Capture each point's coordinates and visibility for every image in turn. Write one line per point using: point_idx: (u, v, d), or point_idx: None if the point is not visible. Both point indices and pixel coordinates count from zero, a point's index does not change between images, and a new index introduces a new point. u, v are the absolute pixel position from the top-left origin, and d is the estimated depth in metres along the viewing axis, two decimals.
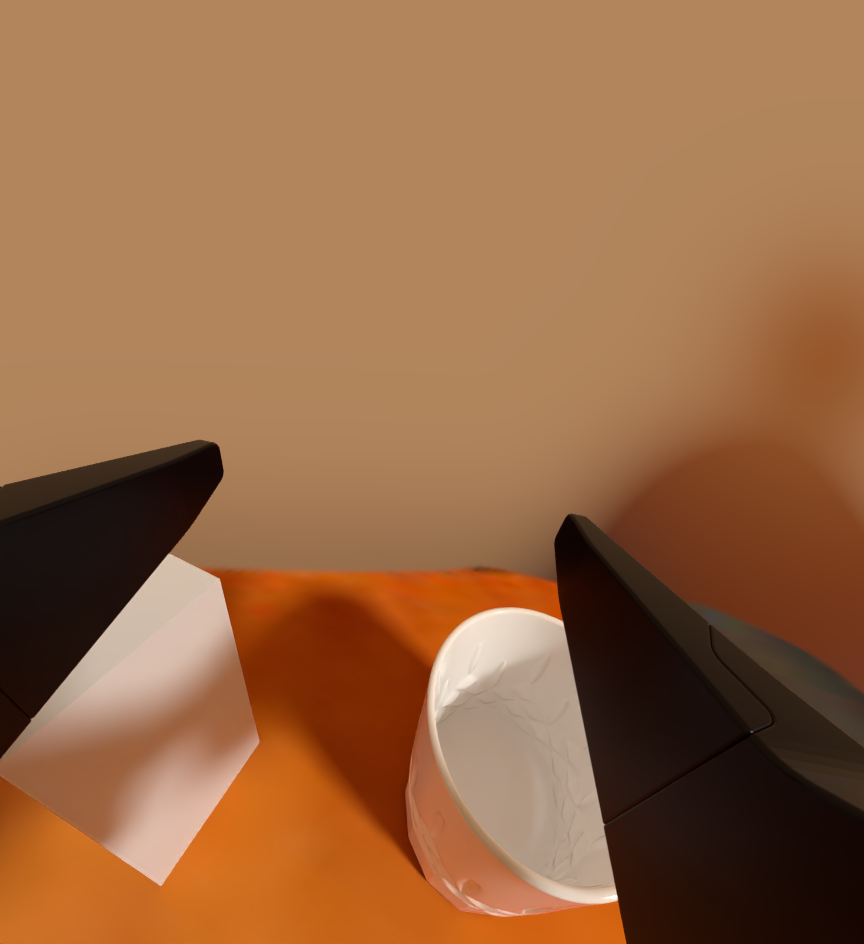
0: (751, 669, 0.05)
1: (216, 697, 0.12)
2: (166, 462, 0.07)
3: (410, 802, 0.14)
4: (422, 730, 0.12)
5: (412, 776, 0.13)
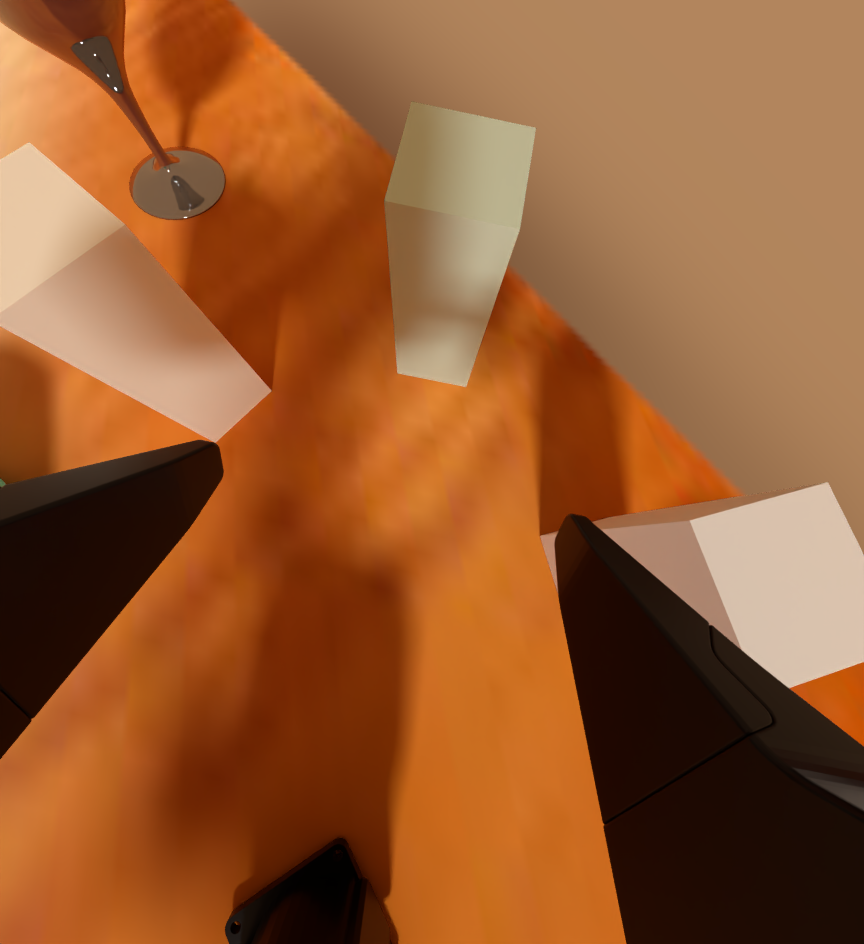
0: (751, 669, 0.05)
1: None
2: (166, 462, 0.07)
3: None
4: None
5: None
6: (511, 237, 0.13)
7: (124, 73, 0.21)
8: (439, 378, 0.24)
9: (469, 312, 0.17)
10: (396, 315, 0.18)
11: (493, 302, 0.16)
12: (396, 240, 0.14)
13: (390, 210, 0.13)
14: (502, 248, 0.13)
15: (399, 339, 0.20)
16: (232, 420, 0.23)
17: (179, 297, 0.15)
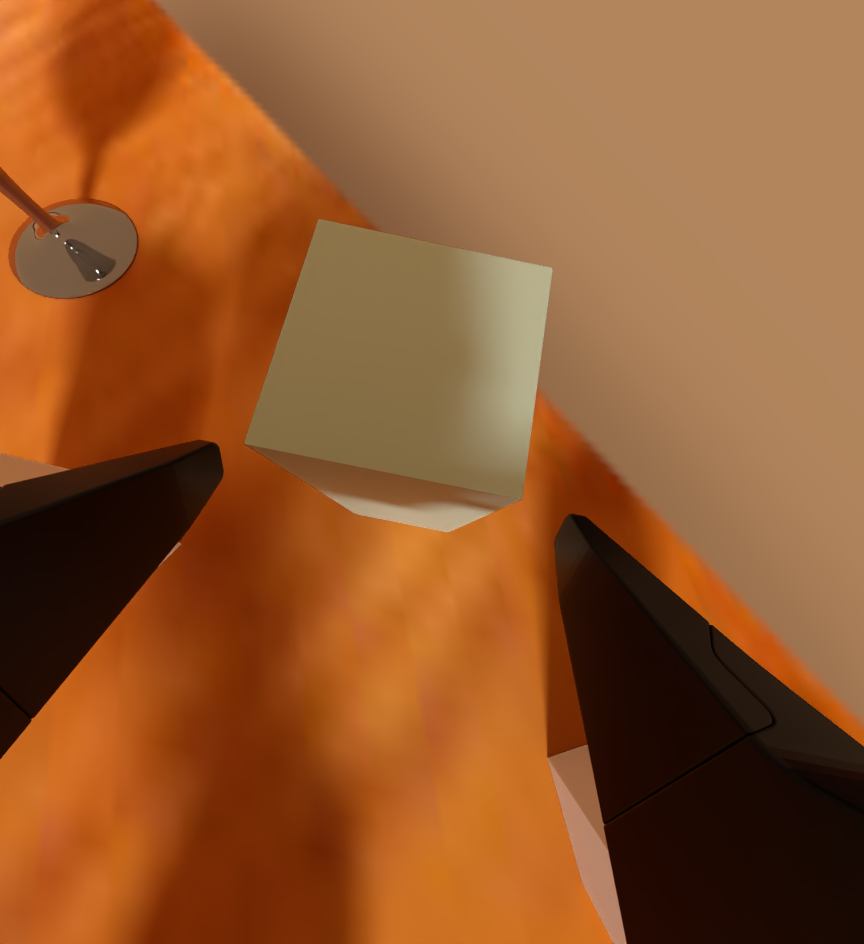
0: (751, 669, 0.05)
1: None
2: (166, 462, 0.07)
3: None
4: None
5: None
6: (505, 499, 0.07)
7: None
8: (411, 524, 0.18)
9: (441, 514, 0.11)
10: (332, 497, 0.12)
11: (477, 517, 0.10)
12: (294, 468, 0.08)
13: (263, 451, 0.06)
14: (488, 501, 0.07)
15: (346, 505, 0.14)
16: None
17: None
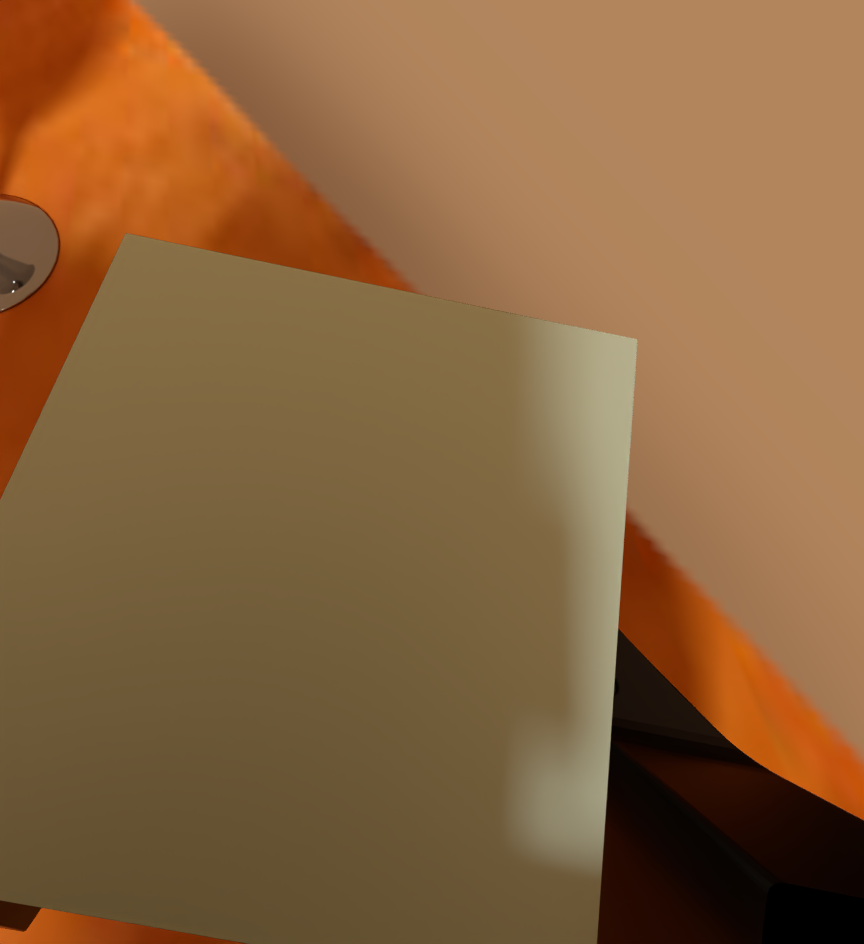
0: (617, 643, 0.05)
1: None
2: None
3: None
4: None
5: None
6: None
7: None
8: None
9: None
10: None
11: None
12: None
13: None
14: None
15: None
16: None
17: None
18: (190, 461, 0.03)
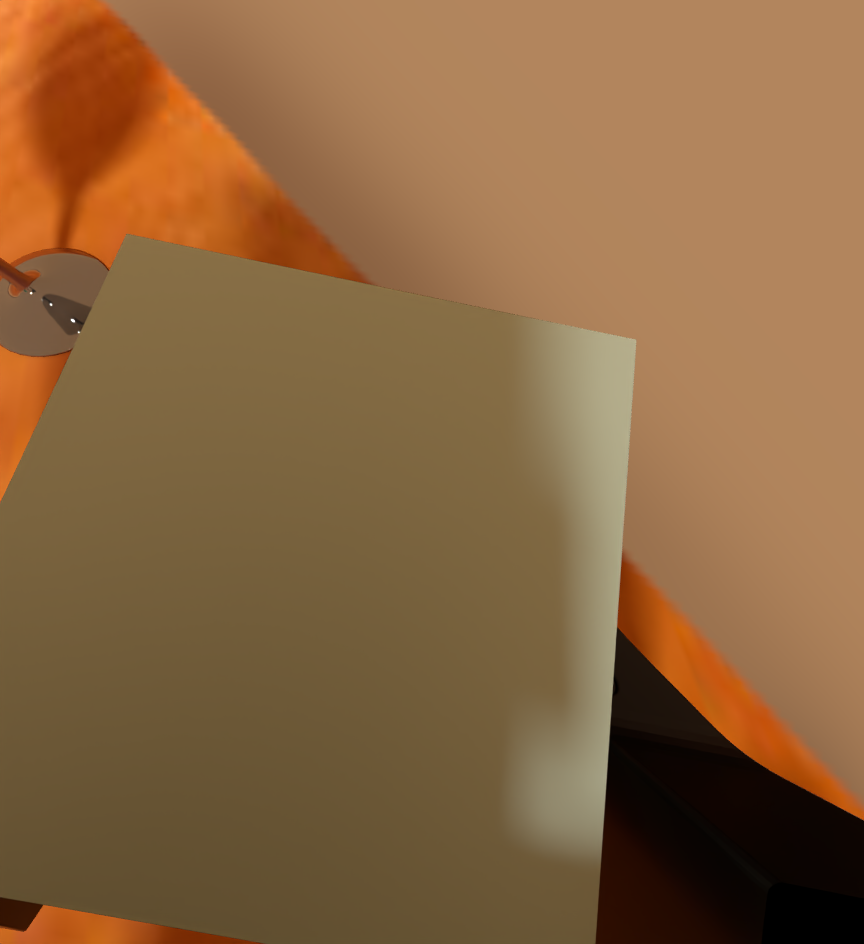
0: (617, 643, 0.05)
1: None
2: None
3: None
4: None
5: None
6: None
7: None
8: None
9: None
10: None
11: None
12: None
13: None
14: None
15: None
16: None
17: None
18: (191, 461, 0.03)
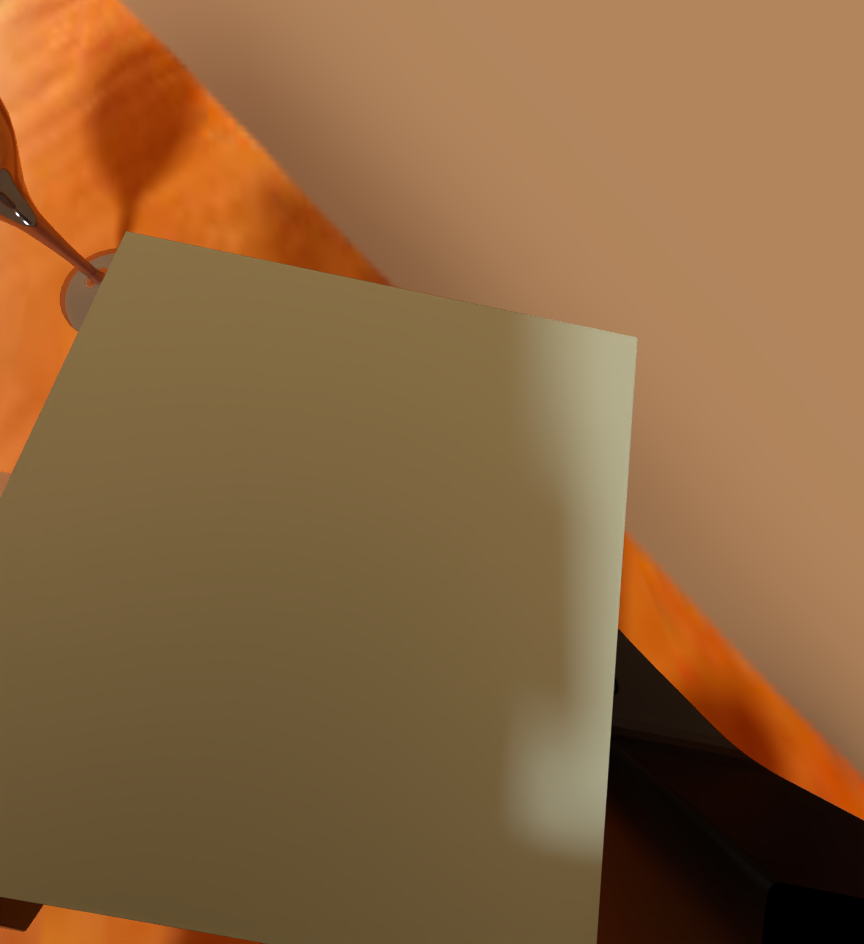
0: (617, 643, 0.05)
1: None
2: None
3: None
4: None
5: None
6: None
7: (28, 205, 0.17)
8: None
9: None
10: None
11: None
12: None
13: None
14: None
15: None
16: None
17: None
18: (190, 459, 0.03)
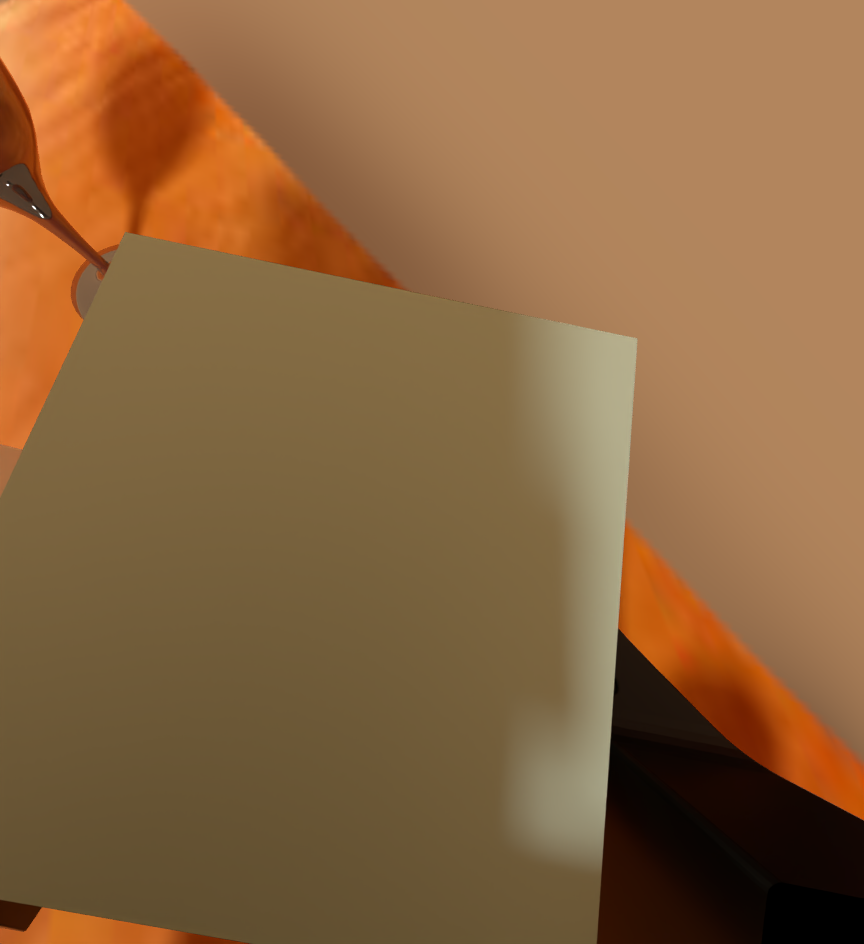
0: (617, 643, 0.05)
1: None
2: None
3: None
4: None
5: None
6: None
7: (45, 198, 0.18)
8: None
9: None
10: None
11: None
12: None
13: None
14: None
15: None
16: None
17: None
18: (190, 461, 0.03)
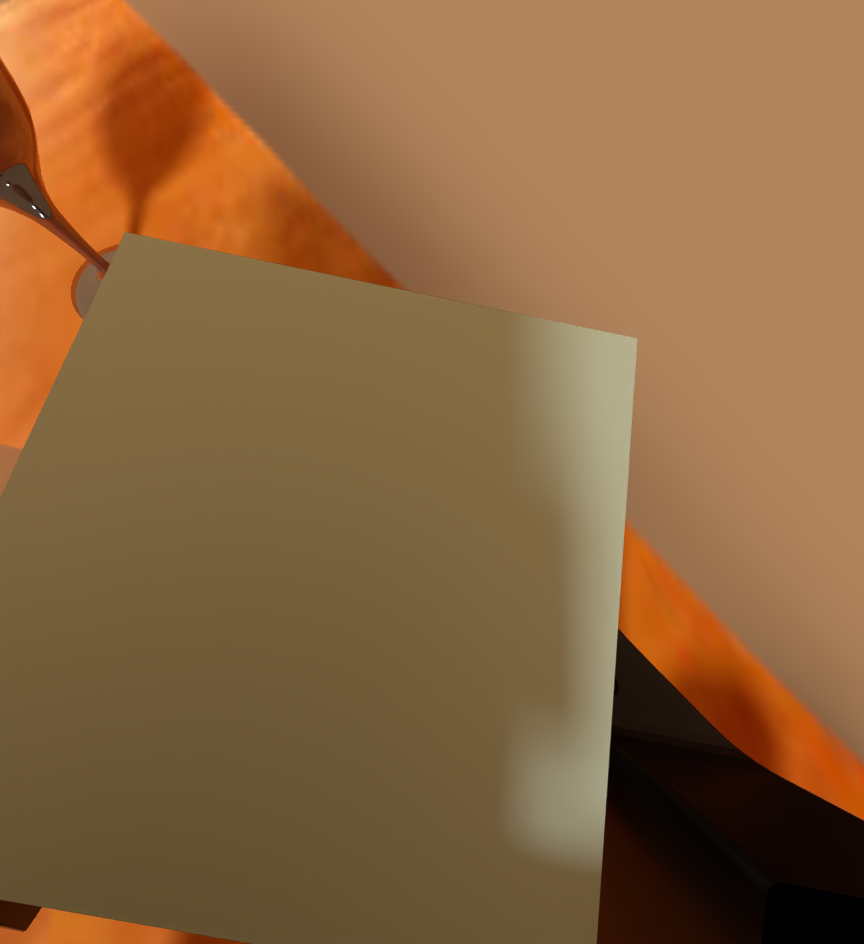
0: (617, 643, 0.05)
1: None
2: None
3: None
4: None
5: None
6: None
7: (45, 198, 0.18)
8: None
9: None
10: None
11: None
12: None
13: None
14: None
15: None
16: None
17: None
18: (190, 461, 0.03)
